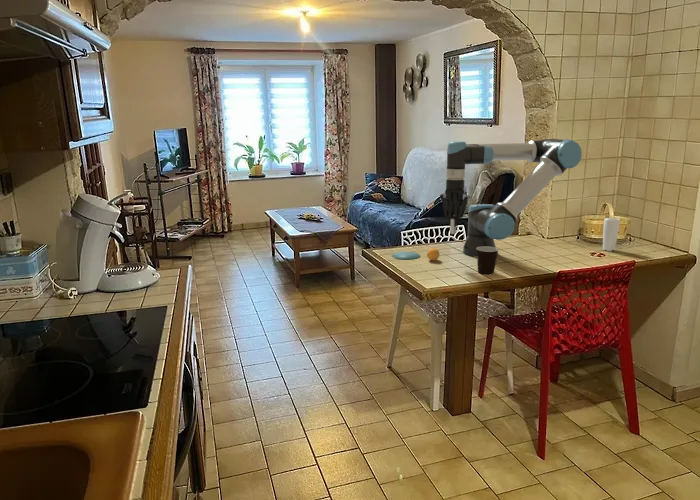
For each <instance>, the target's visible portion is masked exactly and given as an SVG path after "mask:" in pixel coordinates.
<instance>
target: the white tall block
mask: <svg viewBox="0 0 700 500" xmlns="http://www.w3.org/2000/svg"><path fill="white" fill-rule="evenodd" d="M620 225H621V219H620V218H617V217H605V218H604V219H603V225H602V226H603V227H602V230H603V231H602V250H604V251H605V250H607V251H606V252H613V251H612V250H614V251H616V245H617V241H618V237H619V236H618V235H619V231H620Z"/></svg>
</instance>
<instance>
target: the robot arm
mask: <svg viewBox="0 0 700 500" xmlns="http://www.w3.org/2000/svg"><path fill="white" fill-rule="evenodd" d="M446 151H447V152H446V178H447V179H446V181H445V186H446V187H445V190H444V192H443V193H441V194H440V195H439V197H440V199H441V202H442V208H443V214H444V217H445V218H448V226H449V227H450V229H449V231H450V233H449V234H451V235H455V234H456V233H457V227H459V219H462V218H463V217H464V215H465V211H466V207H467V204H468V201H469V200H470V195H467V194H466V193H465V176H466V175H465V174H466V165H486V164H487V165H488V164H491V163H492V162H493V161H499V162H500V161H527V162H528V163H539V164H538V165H536V167H534V169H533V170H531V172H529V174H528V175H527V176H526V177H525V178H524V179H523V180H522V181H521V182H520V184H518V186H517V187H516V188H515V189H514V190H513V191H512V192H511V193H510V194H509V195H508V196H507V197H506V198H505V199H504V200H503V201H502V202H497V203H496V204H492V203H491V204H486V203H482V204H481V203H479V204H471V205H469V207H468V216H467V218H468V219H467V237H466V240H465V241H464V242H465V243H464V245H463V248H462V249H463V250H462V253H463V254H464V255H467V256H471V257H476V258H477V250H476V248H477V247H483V246H487V247H494V248H497V245H496V243H495V240H497V241H501V240H504V239H507V238H509V237H510V236H511V235H512V234H513V232H514V231H515V224H516V223H517V222H518V216H519V214H520V213H522V211H523V210H524V209H525V208H527V206H528V205H529V204H530V203H531V202H532V201H533V200H534V199H535V198H536V197H537V196H538V195H539V193H541V191H542V190H543V189H544V188H545V187H546V186H548V184H549V183H550V182H551V181H552V180H553V179H554V178H555V177H556V176H562V174H564V173H565V171H566V170H568V169H573V168H575V167H577V166H578V165H579V163H580V162H581V160H582V157H583V155H582V153H583V152H582V148H581V146H580V144H579V143H578V142H577V141H576V140H571V139H559V138H548V139H547V138H545V139H539V140H529V141H528V142H520V143H519V142H518V143H515V142H514V143H513V142H512V143H510V142H509V143H508V142H507V143H504V142H503V143H477V144H476V143H468V144H467V141H459V140H458V141H455V140H454V141H449V142H448V144H447V150H446ZM461 200H462V201H461ZM460 204H461V205H460Z"/></svg>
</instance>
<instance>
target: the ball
mask: <svg viewBox="0 0 700 500" xmlns="http://www.w3.org/2000/svg"><path fill="white" fill-rule="evenodd" d="M439 251H440V250H438V249H437V248H435V247H433V248H430V249H428V251H427V252H426V256H427V258H428V260H430V261H432V262H433V261H436V260H438V259H439V258H440V252H439Z"/></svg>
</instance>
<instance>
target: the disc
mask: <svg viewBox="0 0 700 500" xmlns="http://www.w3.org/2000/svg"><path fill="white" fill-rule="evenodd" d="M391 257H392V258H393V257H394V259H396V258H397V260H406V261H407V260H408V261H409V260H416V259H418V258H420V257H421V255H420V254H419V253H418V252H412V251H398V252H394V253H393V254H392V255H391Z"/></svg>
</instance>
